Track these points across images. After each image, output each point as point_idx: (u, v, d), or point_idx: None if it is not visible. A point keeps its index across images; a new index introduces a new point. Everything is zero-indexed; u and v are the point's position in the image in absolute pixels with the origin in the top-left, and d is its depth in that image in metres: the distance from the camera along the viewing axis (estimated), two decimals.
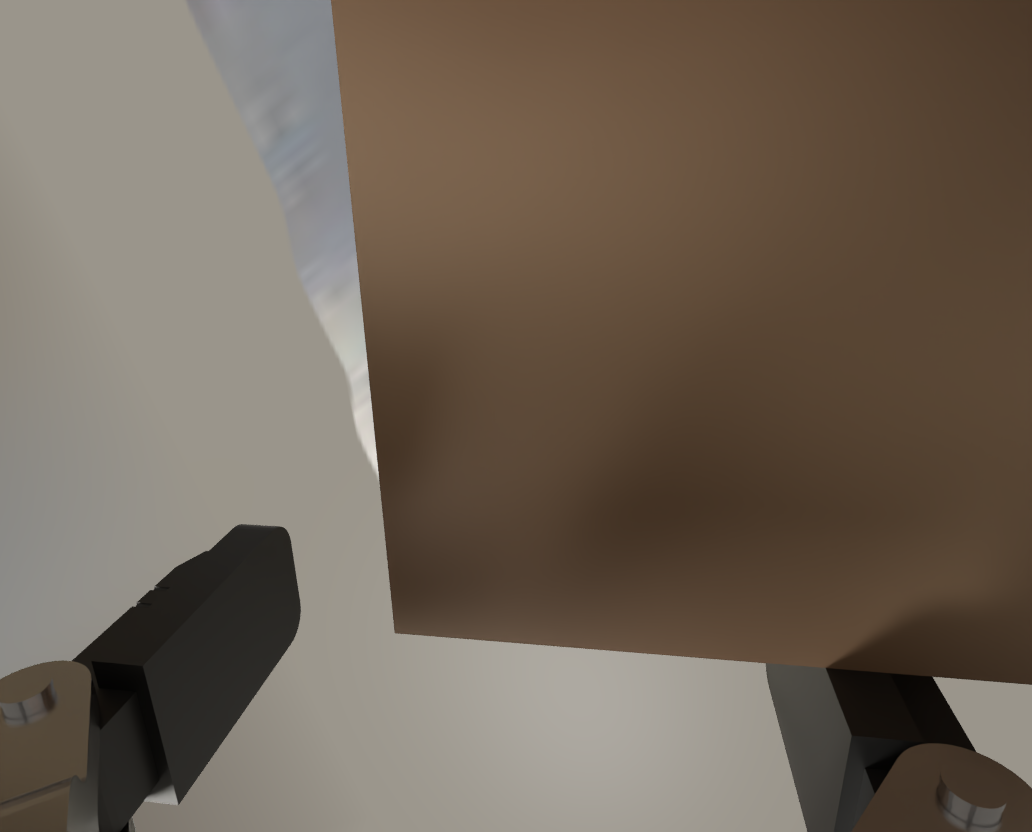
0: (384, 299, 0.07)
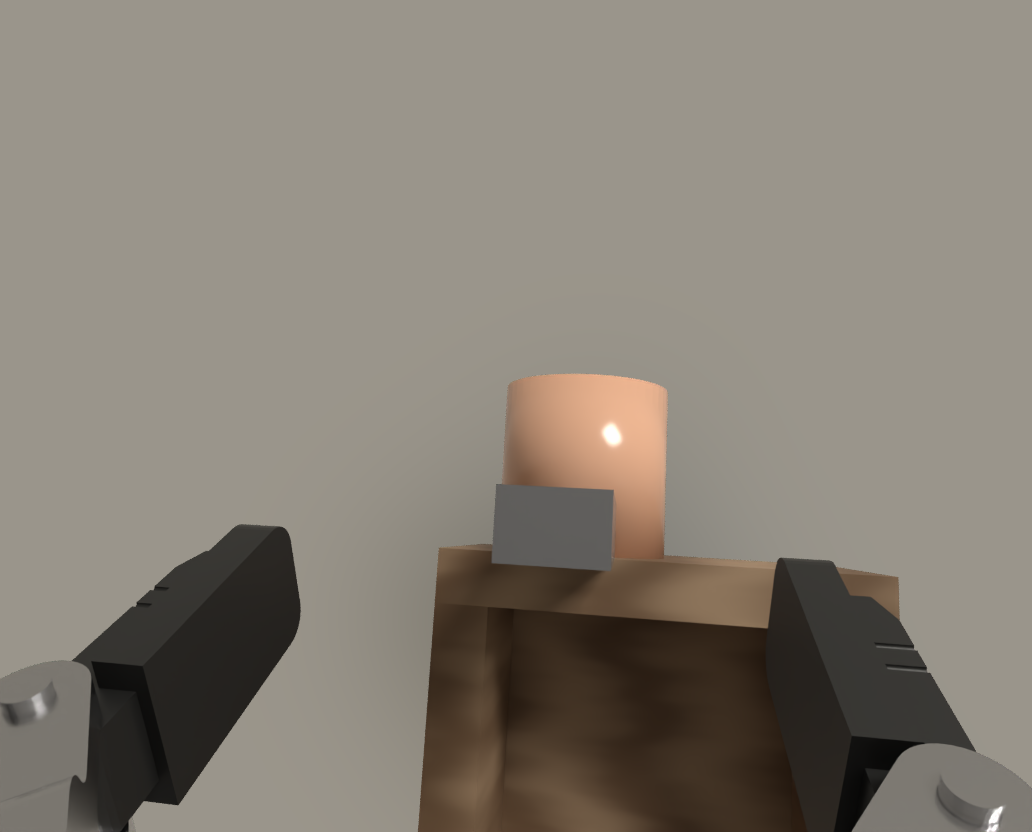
0: (767, 568, 0.24)
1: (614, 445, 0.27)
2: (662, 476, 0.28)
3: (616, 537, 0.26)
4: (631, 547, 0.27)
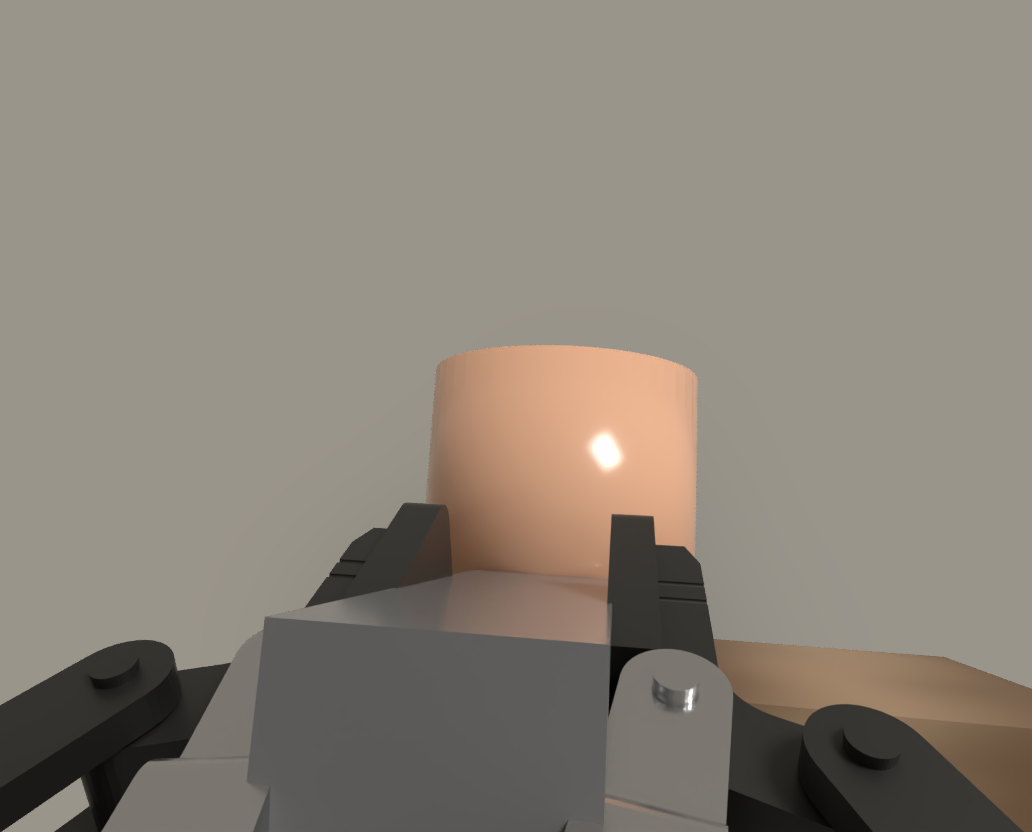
0: (905, 714, 0.13)
1: (610, 472, 0.15)
2: (691, 522, 0.17)
3: None
4: None
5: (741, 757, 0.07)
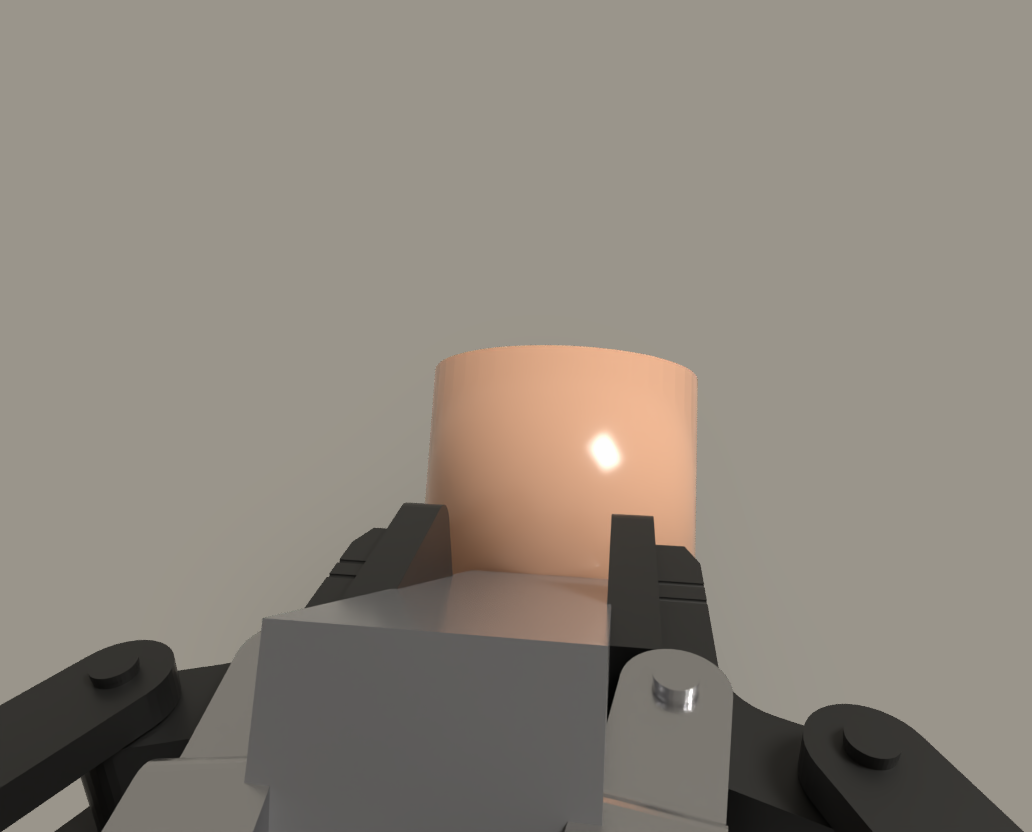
0: None
1: (610, 472, 0.15)
2: (691, 522, 0.17)
3: None
4: None
5: (741, 757, 0.07)
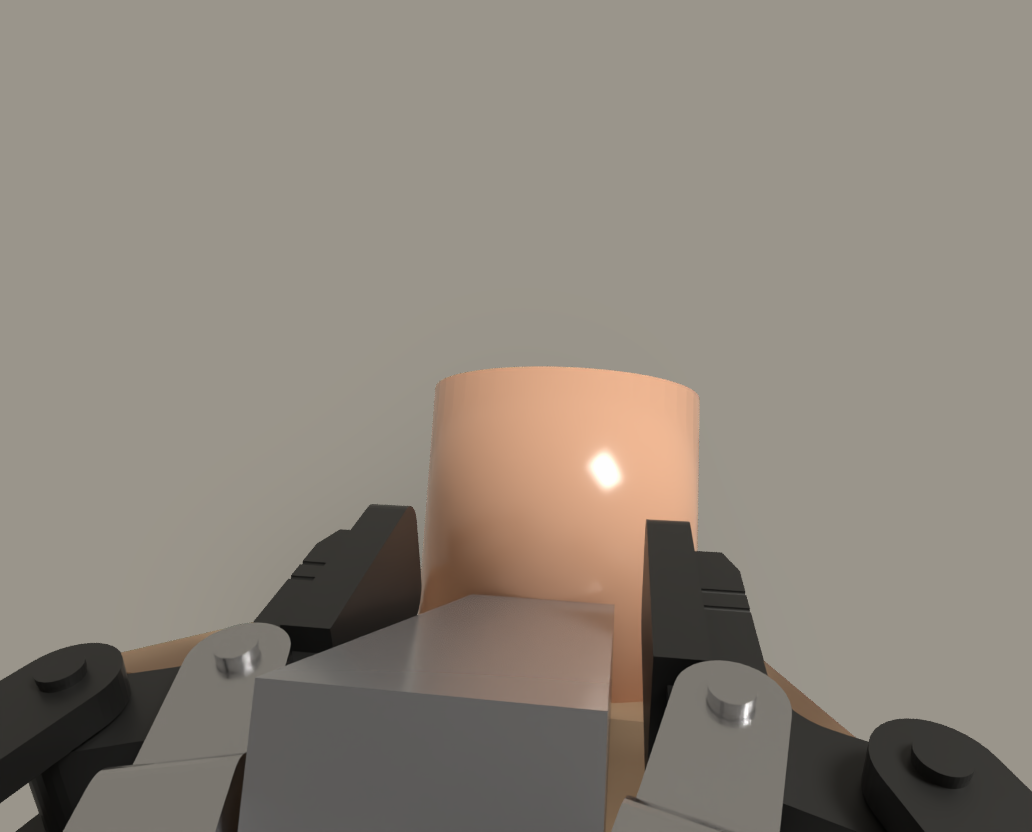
0: (625, 716, 0.13)
1: (611, 495, 0.15)
2: None
3: (614, 664, 0.14)
4: None
5: (801, 773, 0.07)
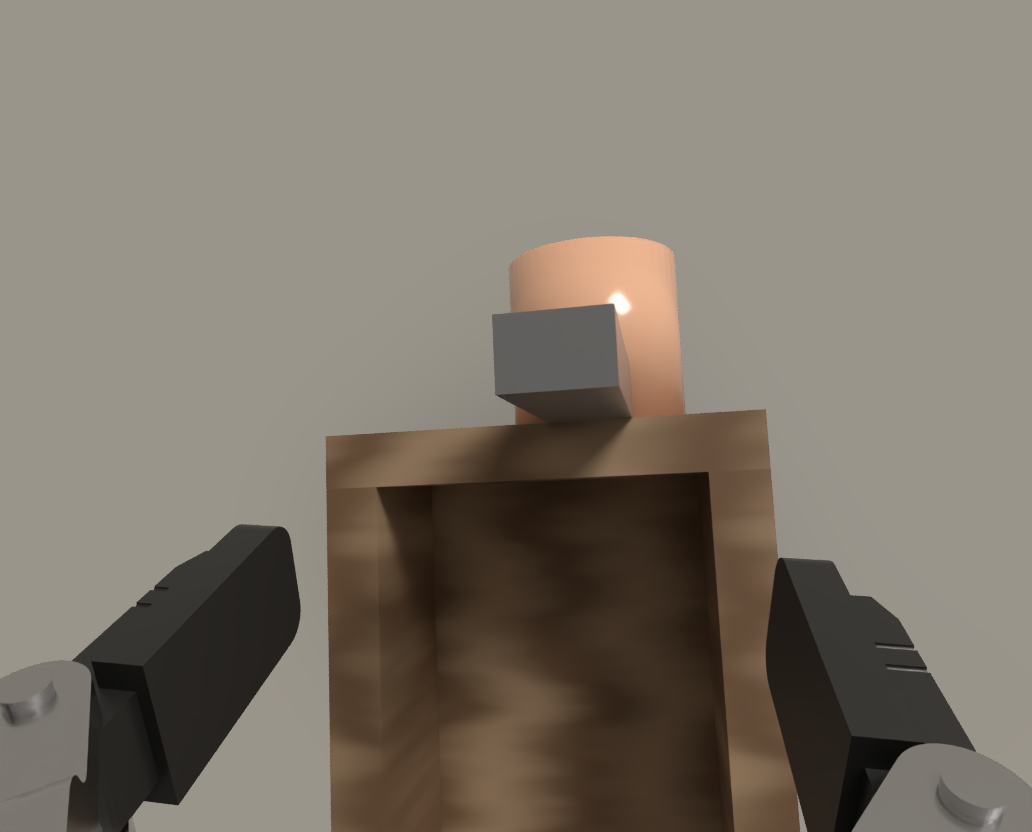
0: None
1: (622, 307, 0.26)
2: (676, 339, 0.27)
3: (633, 400, 0.26)
4: (650, 409, 0.26)
5: None
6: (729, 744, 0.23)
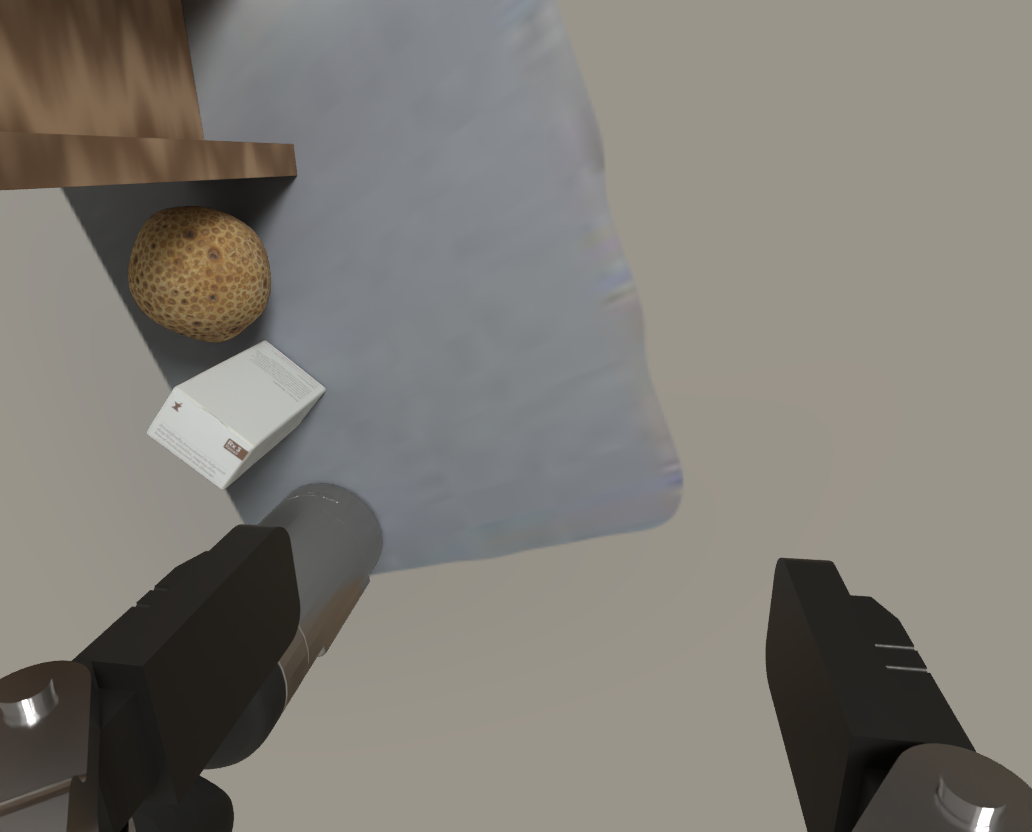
0: None
1: None
2: None
3: None
4: None
5: None
6: None
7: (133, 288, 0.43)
